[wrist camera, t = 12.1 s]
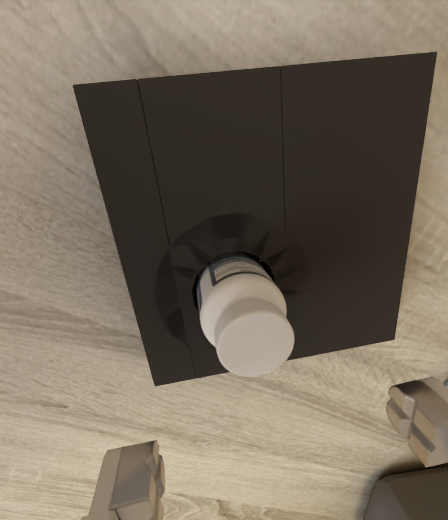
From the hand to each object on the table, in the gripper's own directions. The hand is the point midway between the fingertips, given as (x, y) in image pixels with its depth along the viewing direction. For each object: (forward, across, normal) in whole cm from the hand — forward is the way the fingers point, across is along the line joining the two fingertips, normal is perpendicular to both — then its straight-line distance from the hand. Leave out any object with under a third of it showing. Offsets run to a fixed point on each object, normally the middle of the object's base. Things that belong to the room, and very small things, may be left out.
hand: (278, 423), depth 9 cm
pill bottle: (+13, 0, 0) cm, 13 cm away
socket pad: (+13, -4, -3) cm, 14 cm away
